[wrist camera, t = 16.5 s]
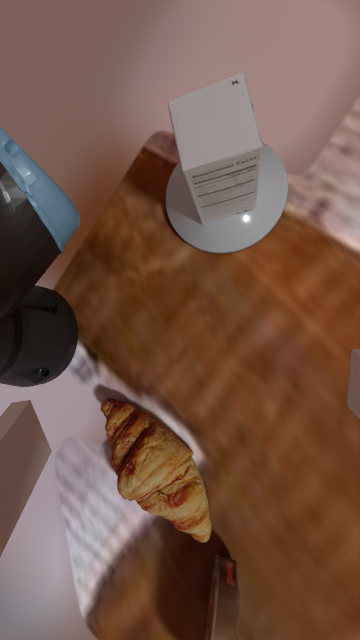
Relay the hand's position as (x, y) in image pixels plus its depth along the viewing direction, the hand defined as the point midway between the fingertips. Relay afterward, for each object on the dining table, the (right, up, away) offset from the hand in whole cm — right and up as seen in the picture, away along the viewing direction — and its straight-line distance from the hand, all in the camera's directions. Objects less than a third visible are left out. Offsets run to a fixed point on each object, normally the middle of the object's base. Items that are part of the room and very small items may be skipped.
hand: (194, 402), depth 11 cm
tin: (+5, -32, +23) cm, 40 cm away
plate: (+5, +20, +26) cm, 33 cm away
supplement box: (+5, +20, +25) cm, 33 cm away
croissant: (-4, -16, +26) cm, 31 cm away
